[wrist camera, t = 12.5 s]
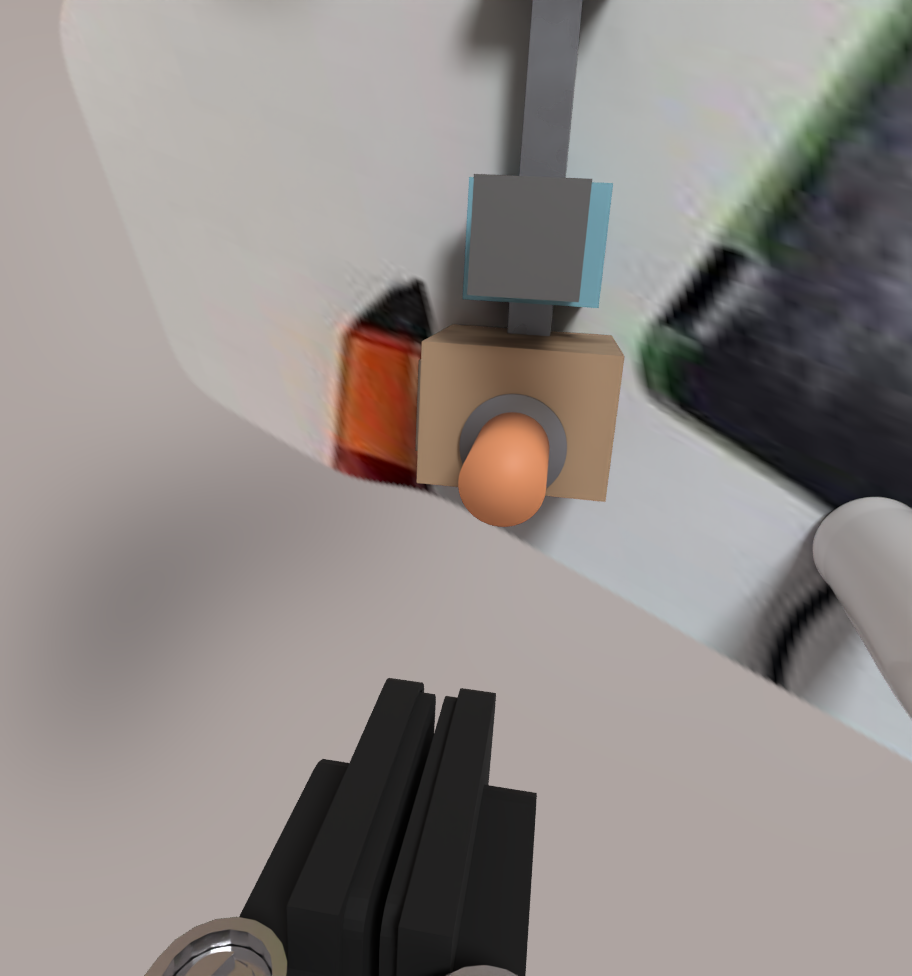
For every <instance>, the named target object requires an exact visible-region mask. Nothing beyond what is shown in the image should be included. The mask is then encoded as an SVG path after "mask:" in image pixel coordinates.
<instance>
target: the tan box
mask: <svg viewBox="0 0 912 976" xmlns="http://www.w3.org/2000/svg"><path fill="white" fill-rule="evenodd" d="M507 330H508V328H498V327H483V326H469V325H455V324H453V325H451V326H449V327H447V328H445V329H443V330H442V331H440V332H438V333H436V334H434V335H433V336H431V337H429V338H427V339H425V340H423V341H422V352H421V359H420V360H419V368H418V396H417V423H416V451H418V459H417V483H423V484H433V485H443V486H453V487H458V480H459V474H460V471H461V468H462V466H463V464H464V462H465V460H466V458H467V456H468V454H469V452H470V450H471V448H472V446H473V444H474V442H475V440H476V438H477V436H478V434H479V432H480V431H481V429H482V427H483V426H484V425H485V424H486V423H487V422H488V421H489V420H490V419H492V418H493V417H495V416H497V415H500V414H503V413H508V412H516V413H522V414H525V415H528V416H530V417H531V418H533V419H535V420H536V421H537V422H538V423H539V424H540V425H541V426H542V427H543V429H544V430H545V432H546V434H547V437H548V440H549V461H548V472H547V484H546V493H545V496H553V497H563V498H573V499H583V500H593V501H603V502H605V500H606V492H607V485H608V477H609V469H610V462H611V454H612V447H613V439H614V432H615V424H616V416H617V409H618V401H619V394H620V386H621V378H622V371H623V363H624V355H623V353H622V352H621V350H620V348H619V347H618V345H617V343H616V342H615V340H614V339H613V337H612V335H598V334H583V333H569V332H555V331H551V333H550V336H539V335H524V334H510V333H507Z"/></svg>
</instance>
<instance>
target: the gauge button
mask: <svg viewBox="0 0 912 976" xmlns="http://www.w3.org/2000/svg"><path fill="white" fill-rule="evenodd" d="M548 461H549V440H548V437H547V434H546V432H545V430H544V429H543V427H542V426H541V425H540V424H539V423H538V422H537V421H536V420H535V419H533V418H531V417H530V416H528V415H525V414H522V413H516V412H508V413H503V414H500V415H497V416H495V417H493V418H492V419H490V420H489V421H488V422H487V423H486V424H485V425H484V426H483V427H482V429H481V431H480V432H479V434H478V436H477V438H476V440H475V442H474V444H473V446H472V448H471V450H470V452H469V454H468V456H467V458H466V460H465V462H464V464H463V466H462V468H461V471H460V474H459V480H458V488H459V493H460V497H461V499H462V502H463V504H464V505H465V507H466V508H467V509H468V511H469V512H470V513H471V514H472V515H473V516H474V517H476V518H477V519H479V520H480V521H482V522H484V523H487V524H489V525H493V526H498V527H508V526H514V525H517V524H520V523H522V522H524V521H526V520H528V519H529V518H531V517H532V516H533V515H534V514H535V513H536V512H537V511H538V509H539V508H540V506H541V505H542V502H543V500H544V497H545V493H546V484H547V472H548Z"/></svg>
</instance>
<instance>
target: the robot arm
mask: <svg viewBox="0 0 912 976" xmlns="http://www.w3.org/2000/svg"><path fill="white" fill-rule="evenodd" d="M495 701H496V693H491V692H484V691H477V690H470V689H463V688H462V689H460V691H459V695H458V698H456V697H449V696H446V697H445V699H444V702H443V705H442V709H441V712H440V716H439V719H438V723H437V726H436V730H435V733H434V723H435V705H436V697H435V694H429V693H424V684H423V683H420V682H413V681H407V680H400V679H392V678H388V679H387V680H386V682H385V684H384V686H383V688H382V691H381V693H380V695H379V697H378V700H377V702H376V705H375V707H374V709H373V711H372V713H371V716H370V718H369V720H368V722H367V725H366V727H365V730H364V731H363V734H362V736H361V738H360V741H359V743H358V745H357V747H356V750H355V752H354V754H353V756H352V759H351V761H350V763H345V762H339V761H332V760H326V759H322V760H321V761H319V762H318V764H317V765H316V767H315V769H314V770H313V772H312V774H311V776H310V778H309V780H308V782H307V784H306V786H305V788H304V790H303V792H302V794H301V796H300V798H299V800H298V802H297V804H296V806H295V808H294V810H293V812H292V814H291V816H290V818H289V819H288V821H287V824H286V826H285V828H284V829H283V831H282V833H281V836H280V837H279V839H278V841H277V843H276V845H275V847H274V849H273V851H272V853H271V855H270V857H269V859H268V861H267V863H266V865H265V867H264V869H263V871H262V873H261V875H260V877H259V879H258V881H257V883H256V885H255V887H254V889H253V891H252V893H251V895H250V897H249V898H248V901H247V903H246V904H245V907H244V908H243V910H242V912H241V914H240V917H230V918H221V919H215V920H212V921H209V922H207V923H204V924H201V925H198V926H196V927H194V928H192V929H191V930H189V931H188V932H186V933H185V934H183V935H182V936H180V937H179V938H177V939H175V940H174V941H173V942H172V943H171V945H170V946H169V947H168V948H167V949H166V950H165V951H164V952H163V953H162V954H161V955H160V956H159V957H158V958H157V960H156V961H155V962H154V963H153V965H152V966H151V967H150V969H149V970H148V971H147V973H146V974H145V975H144V976H525V971H526V957H527V940H528V925H529V910H530V894H531V877H532V862H533V845H534V830H535V815H536V797H537V795H536V793H532V792H526V791H520V790H514V789H507V788H501V787H495V786H489V785H488V782H489V771H490V759H491V748H492V736H493V724H494V713H495Z"/></svg>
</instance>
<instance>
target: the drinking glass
mask: <svg viewBox="0 0 912 976" xmlns="http://www.w3.org/2000/svg"><path fill="white" fill-rule="evenodd" d="M813 559H814V563H815V565H816V568H817V570H818V572H819V573H820V575H821V576H822V578H823V579H824V580H825V581H826V583H827V584H828V585H829V586H830V588H831V589H832V591H833V592H834V594H835V596H836V597H837V599H838V601H839V602H840V604H841V606H842V607H843V609H844V611H845V612H846V614H847V616H848V617H849V619H850V621H851V623H852V624H853V626H854V628H855V629H856V631H857V633H858V635H859V636H860V638H861V640H862V642H863V643H864V645H865V647H866V649H867V650H868V652H869V654H870V655H871V657H872V659H873V661H874V662H875V664H876V666H877V668H878V669H879V671H880V673H881V675H882V676H883V678H884V680H885V681H886V683H887V685H888V686H889V688H890V689H891V691H892V693H893V694H894V696H895V697H896V699H897V700H898V702H899V703H900V704H901V706H902V707H903V709H904V710H905V712H906V713H907V714H908V716H909V717H910V718H911V720H912V508H910V507H909V506H907V505H905V504H903V503H901V502H899V501H896V500H893V499H889V498H883V497H866V498H860V499H856V500H853V501H850V502H847V503H845V504H843V505H841V506H840V507H838V508H836V509H835V510H834V511H832V512H831V513H830V514H829V515H828V516H827V517H826V518H825V519H824V520H823V521H822V523H821V524H820V526H819V528H818V529H817V532H816V534H815V537H814V541H813Z"/></svg>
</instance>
